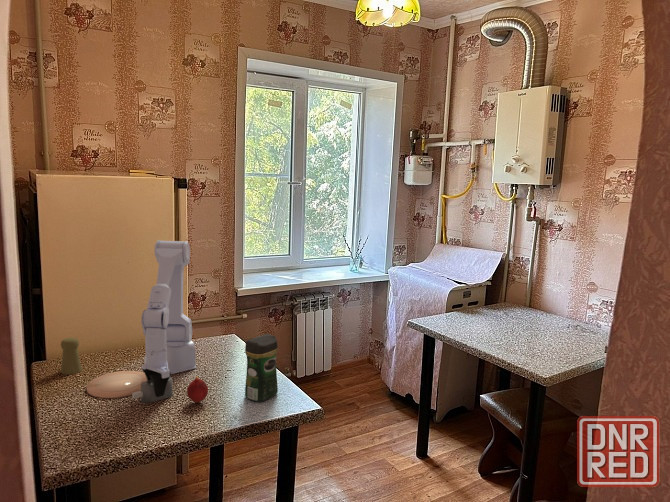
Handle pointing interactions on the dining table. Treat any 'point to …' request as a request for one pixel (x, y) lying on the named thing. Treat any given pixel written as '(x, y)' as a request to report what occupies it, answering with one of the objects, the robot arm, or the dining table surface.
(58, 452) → the dining table surface
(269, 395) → the coffee jar
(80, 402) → the dining table surface
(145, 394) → the connector
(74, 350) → the cork
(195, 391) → the onion
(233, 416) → the dining table surface
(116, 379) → the plate
